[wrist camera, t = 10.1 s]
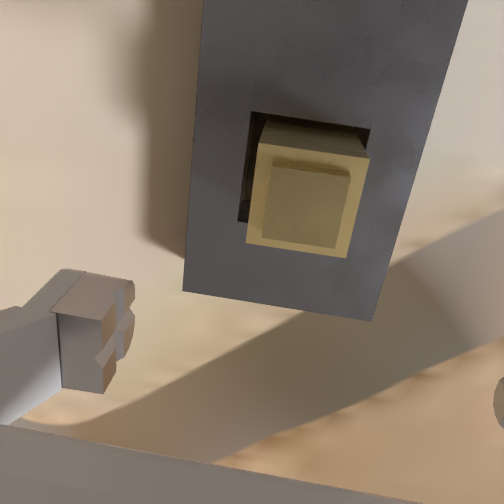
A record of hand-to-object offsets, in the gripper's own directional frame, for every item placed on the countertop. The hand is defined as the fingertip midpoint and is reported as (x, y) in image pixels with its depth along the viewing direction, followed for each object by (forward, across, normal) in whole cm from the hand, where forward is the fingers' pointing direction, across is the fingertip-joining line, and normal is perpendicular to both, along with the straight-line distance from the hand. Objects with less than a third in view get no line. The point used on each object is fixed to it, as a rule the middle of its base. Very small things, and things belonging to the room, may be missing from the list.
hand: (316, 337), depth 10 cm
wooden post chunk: (+15, 0, 0) cm, 15 cm away
